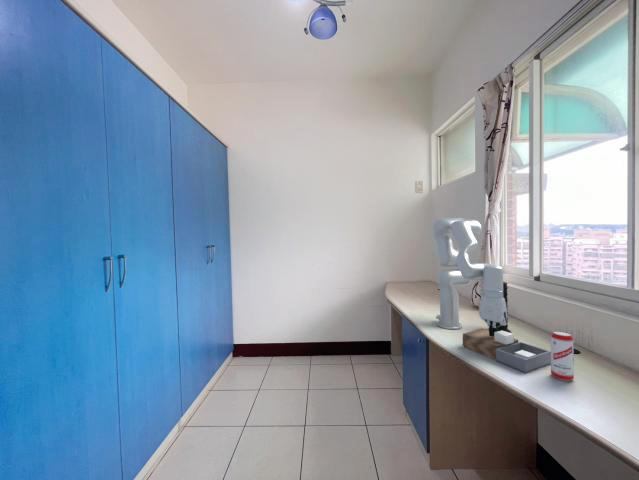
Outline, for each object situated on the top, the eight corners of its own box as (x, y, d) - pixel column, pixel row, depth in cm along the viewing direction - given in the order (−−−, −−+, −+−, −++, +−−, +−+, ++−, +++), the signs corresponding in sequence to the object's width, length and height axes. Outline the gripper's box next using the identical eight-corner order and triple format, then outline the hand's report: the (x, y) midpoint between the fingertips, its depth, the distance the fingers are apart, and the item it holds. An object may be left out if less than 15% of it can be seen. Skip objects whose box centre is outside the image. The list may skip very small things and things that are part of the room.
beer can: (575, 383, 98) (575, 337, 97) (552, 379, 101) (552, 334, 100) (571, 375, 103) (571, 331, 102) (549, 371, 106) (549, 329, 106)
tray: (496, 361, 116) (495, 349, 115) (520, 353, 122) (520, 341, 122) (525, 373, 105) (525, 360, 105) (550, 364, 112) (550, 351, 112)
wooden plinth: (462, 346, 131) (462, 333, 131) (483, 341, 137) (483, 328, 136) (497, 360, 116) (496, 345, 116) (518, 353, 122) (518, 339, 122)
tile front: (528, 357, 109) (528, 366, 110) (536, 354, 112) (536, 363, 112) (514, 352, 114) (514, 360, 114) (522, 349, 116) (522, 358, 116)
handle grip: (493, 333, 146) (515, 334, 144) (492, 282, 145) (514, 282, 143) (486, 327, 155) (506, 328, 153) (485, 279, 155) (506, 279, 153)
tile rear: (494, 340, 122) (494, 332, 122) (502, 338, 124) (501, 330, 124) (506, 344, 117) (505, 336, 117) (513, 342, 119) (513, 334, 119)
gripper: (471, 291, 129) (472, 332, 130) (504, 298, 116) (505, 343, 116) (482, 290, 133) (483, 329, 133) (516, 296, 119) (516, 340, 119)
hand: (493, 335), depth 125 cm, fingers closed
